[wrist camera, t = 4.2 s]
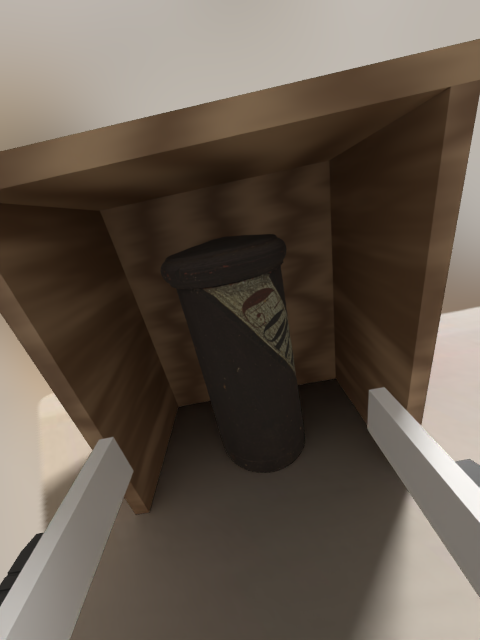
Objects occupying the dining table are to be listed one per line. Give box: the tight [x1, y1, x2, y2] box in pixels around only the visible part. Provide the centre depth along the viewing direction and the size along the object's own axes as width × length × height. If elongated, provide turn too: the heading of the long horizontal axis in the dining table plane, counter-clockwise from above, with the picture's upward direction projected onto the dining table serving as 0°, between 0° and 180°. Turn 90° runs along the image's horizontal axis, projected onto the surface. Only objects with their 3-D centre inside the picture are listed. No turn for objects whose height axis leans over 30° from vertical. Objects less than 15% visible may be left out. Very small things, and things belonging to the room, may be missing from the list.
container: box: [161, 234, 305, 472], centre depth 20 cm, size 9×9×20 cm
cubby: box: [0, 39, 480, 514], centre depth 20 cm, size 23×13×25 cm, turn 93°
